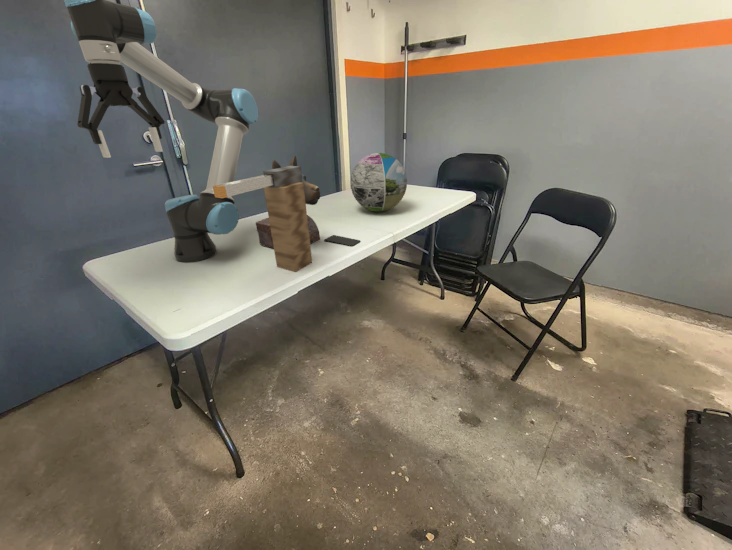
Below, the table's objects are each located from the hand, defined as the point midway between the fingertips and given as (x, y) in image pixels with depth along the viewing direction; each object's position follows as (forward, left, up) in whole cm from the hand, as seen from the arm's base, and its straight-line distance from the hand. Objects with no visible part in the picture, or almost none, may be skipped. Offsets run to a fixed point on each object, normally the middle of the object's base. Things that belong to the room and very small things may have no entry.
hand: (134, 154), depth 91 cm
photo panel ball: (+94, +52, -41) cm, 115 cm away
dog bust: (+44, +19, -41) cm, 63 cm away
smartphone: (+62, +15, -41) cm, 76 cm away
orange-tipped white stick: (+29, -9, -11) cm, 32 cm away
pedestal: (+39, -1, -41) cm, 56 cm away
